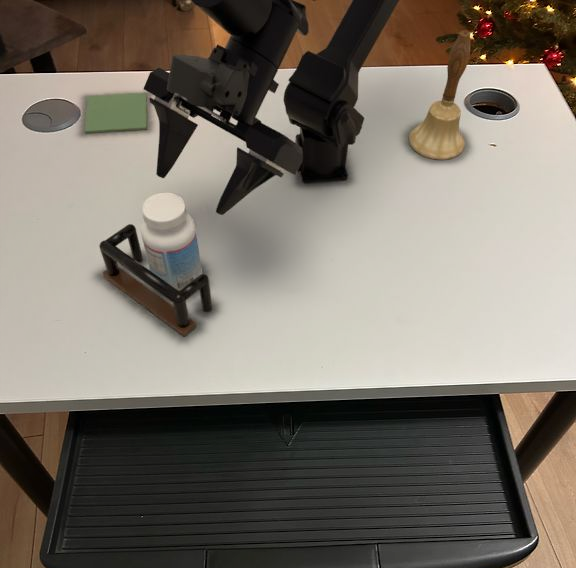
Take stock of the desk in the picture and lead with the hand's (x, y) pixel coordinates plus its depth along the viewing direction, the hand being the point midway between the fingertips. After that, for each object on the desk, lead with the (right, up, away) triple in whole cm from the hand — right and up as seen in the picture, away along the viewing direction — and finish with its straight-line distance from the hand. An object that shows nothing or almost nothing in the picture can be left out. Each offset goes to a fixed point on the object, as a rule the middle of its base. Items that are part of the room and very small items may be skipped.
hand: (188, 195), depth 67 cm
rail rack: (-5, -10, +6) cm, 12 cm away
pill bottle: (-3, -8, +7) cm, 11 cm away
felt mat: (-15, +20, +25) cm, 36 cm away
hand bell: (+33, +15, +23) cm, 43 cm away
